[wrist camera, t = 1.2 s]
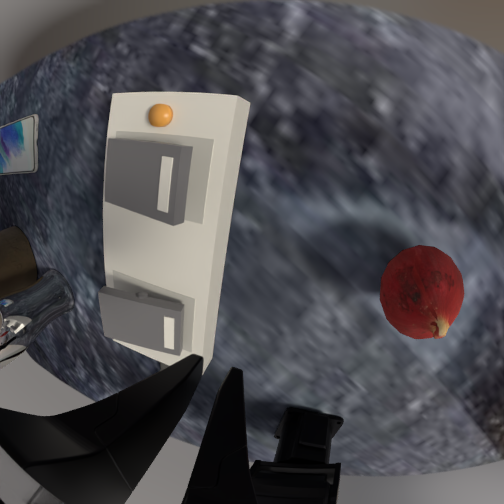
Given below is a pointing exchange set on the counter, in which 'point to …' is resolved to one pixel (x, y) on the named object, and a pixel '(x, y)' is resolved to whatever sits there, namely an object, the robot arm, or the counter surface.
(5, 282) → the pillar candle
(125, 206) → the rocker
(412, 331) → the onion
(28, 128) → the smartphone
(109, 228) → the power strip
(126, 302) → the rocker
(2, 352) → the beer glass
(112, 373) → the counter surface
